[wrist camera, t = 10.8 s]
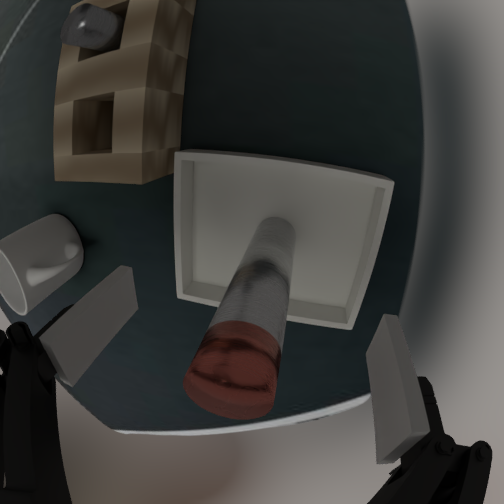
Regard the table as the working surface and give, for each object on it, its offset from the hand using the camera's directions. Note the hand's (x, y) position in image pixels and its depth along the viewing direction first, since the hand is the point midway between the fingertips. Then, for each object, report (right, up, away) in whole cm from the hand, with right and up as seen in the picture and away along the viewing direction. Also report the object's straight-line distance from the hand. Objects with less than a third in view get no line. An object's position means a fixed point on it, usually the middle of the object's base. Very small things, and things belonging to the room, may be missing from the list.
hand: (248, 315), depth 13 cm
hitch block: (-10, +19, +6) cm, 22 cm away
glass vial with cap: (+2, +4, +10) cm, 11 cm away
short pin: (-10, +22, +5) cm, 25 cm away
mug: (-23, +4, +16) cm, 28 cm away
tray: (+2, +5, +10) cm, 11 cm away
